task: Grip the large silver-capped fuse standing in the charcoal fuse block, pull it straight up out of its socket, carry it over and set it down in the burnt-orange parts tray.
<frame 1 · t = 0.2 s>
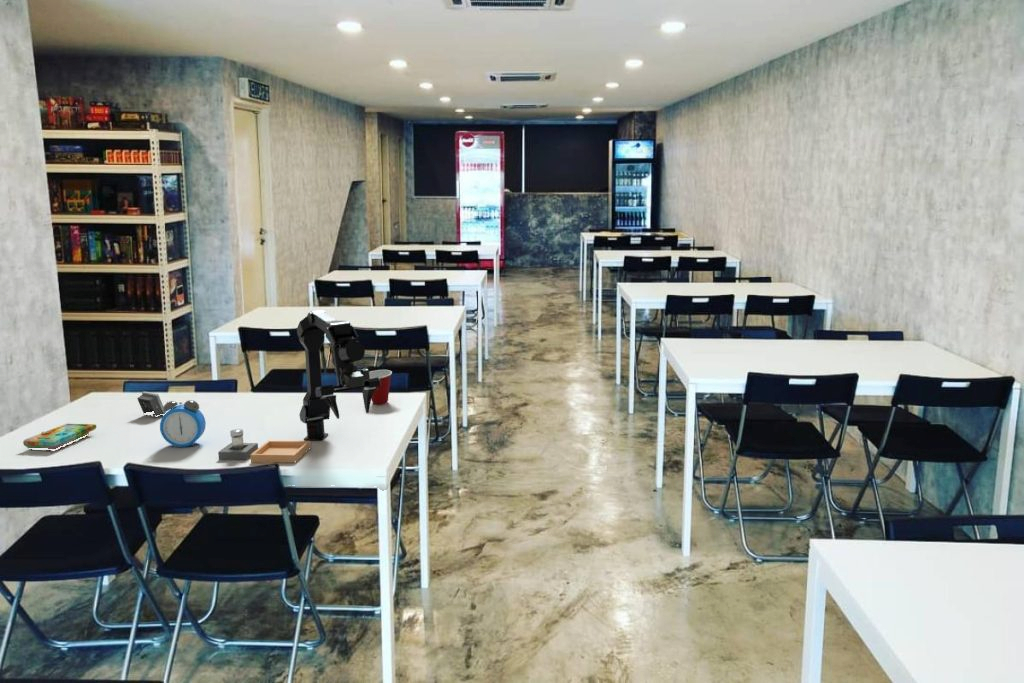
hand: (353, 415, 246), 15 cm above the table, tool pointing down, fingers open, 9 cm apart
fuse block: (238, 455, 262), on the table
alarm clock: (185, 445, 274), on the table
electrical switch: (153, 416, 311), on the table
fuse: (237, 443, 261), in the fuse block
puzzle game: (62, 443, 281), on the table
plastic cup: (379, 403, 319), on the table
parts tray: (281, 455, 260), on the table
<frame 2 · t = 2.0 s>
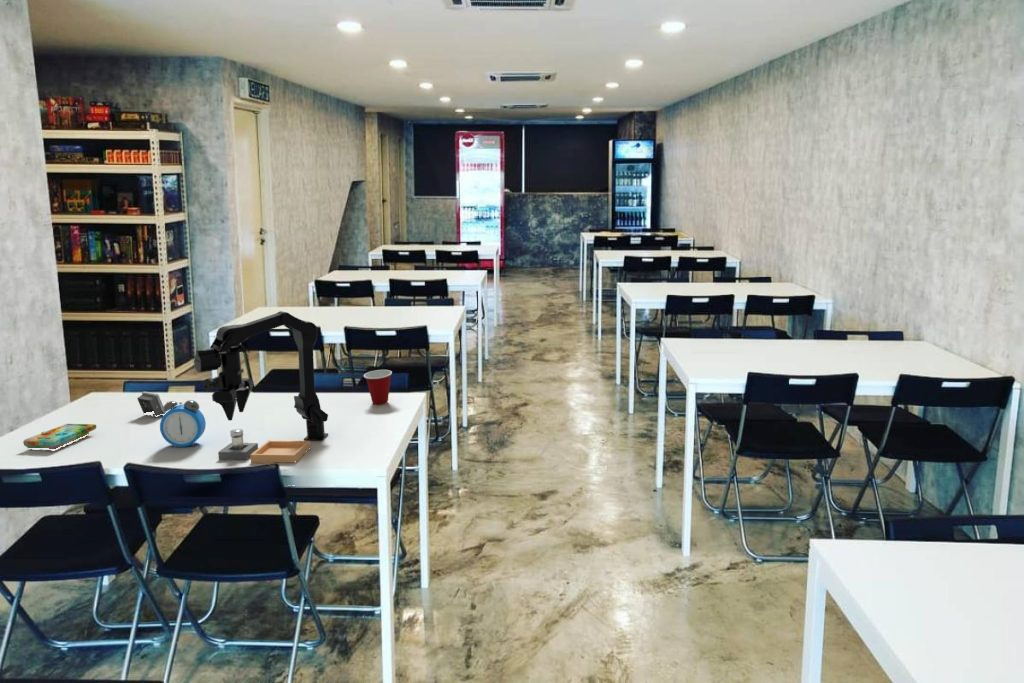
hand: (235, 416, 258), 13 cm above the table, tool pointing down, fingers open, 9 cm apart
nothing on the table moved.
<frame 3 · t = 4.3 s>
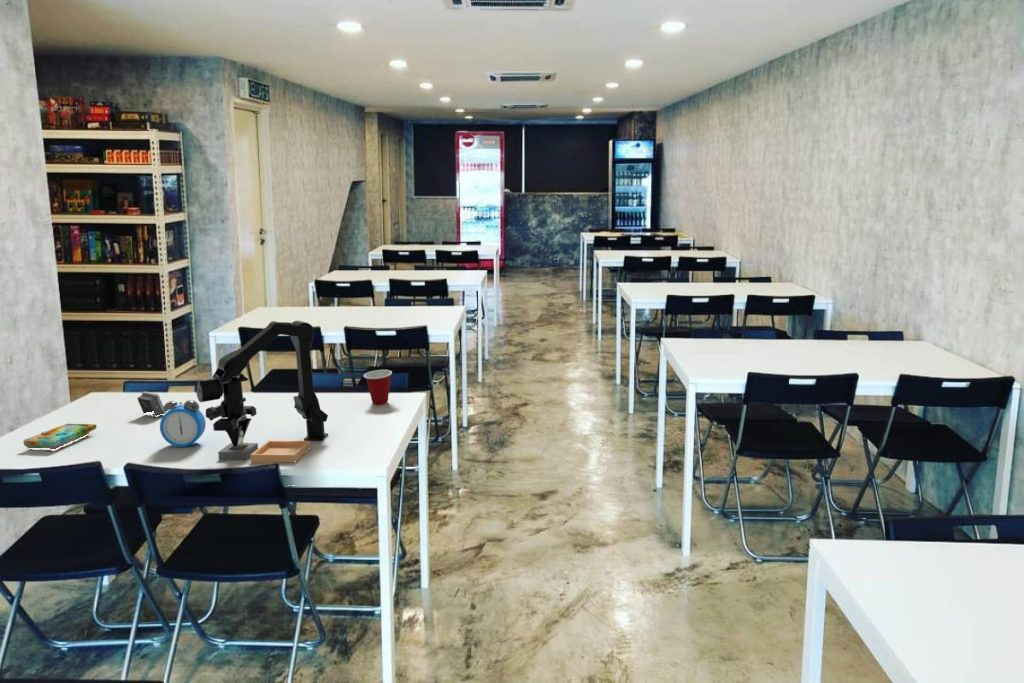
hand: (237, 444, 261), 4 cm above the table, tool pointing down, fingers closed on fuse, 3 cm apart
fuse: (237, 442, 261), in the fuse block, touching gripper
everything else where it was.
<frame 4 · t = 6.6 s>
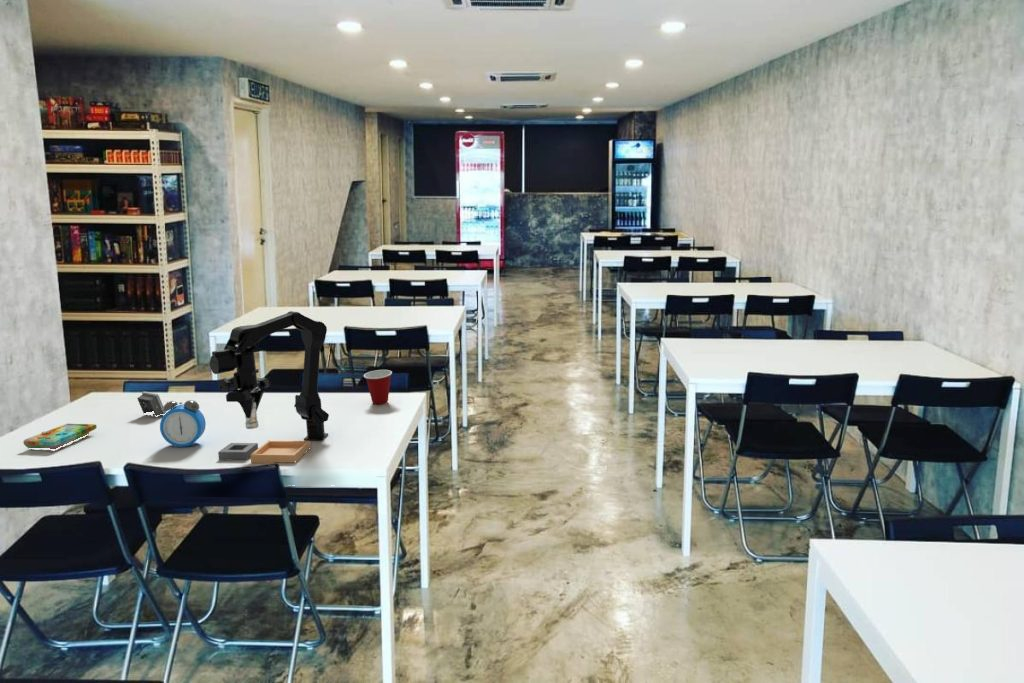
hand: (251, 416, 259), 13 cm above the table, tool pointing down, fingers closed on fuse, 3 cm apart
fuse: (250, 414, 259), point 13 cm above the table, touching gripper
everything else where it was.
when the fingers open (6 cm above the table, at t = 9.1 s): fuse drops 2 cm, resting on parts tray.
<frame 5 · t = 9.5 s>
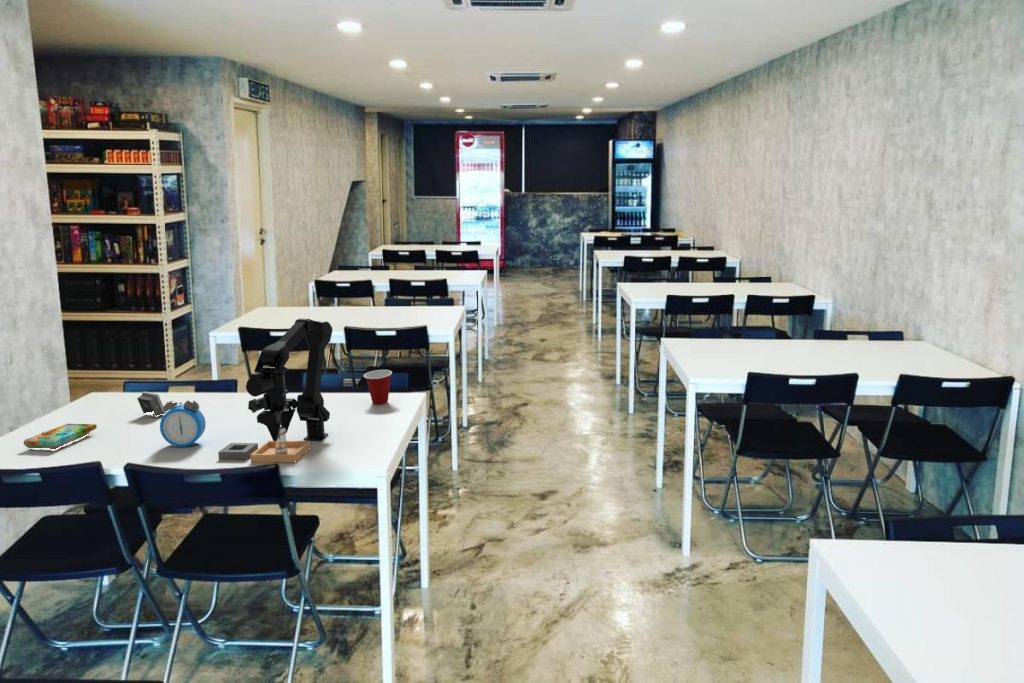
hand: (280, 436, 259), 6 cm above the table, tool pointing down, fingers open, 8 cm apart
fuse: (280, 440, 260), in the parts tray, point 5 cm above the table
everything else where it was.
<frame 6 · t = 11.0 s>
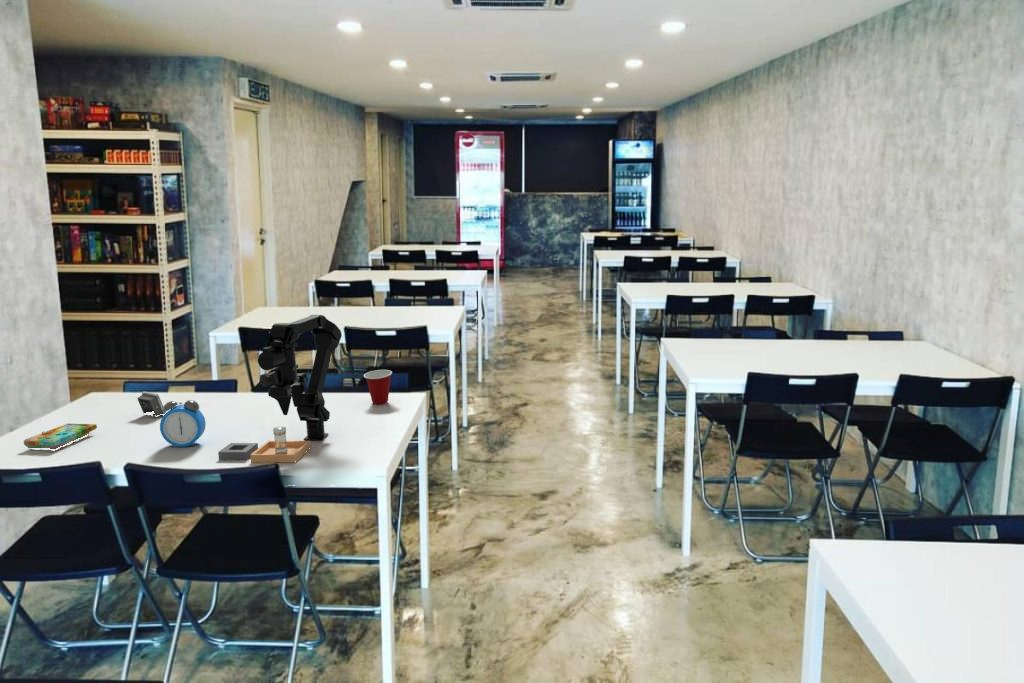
hand: (290, 410, 263), 13 cm above the table, tool pointing down, fingers open, 9 cm apart
nothing on the table moved.
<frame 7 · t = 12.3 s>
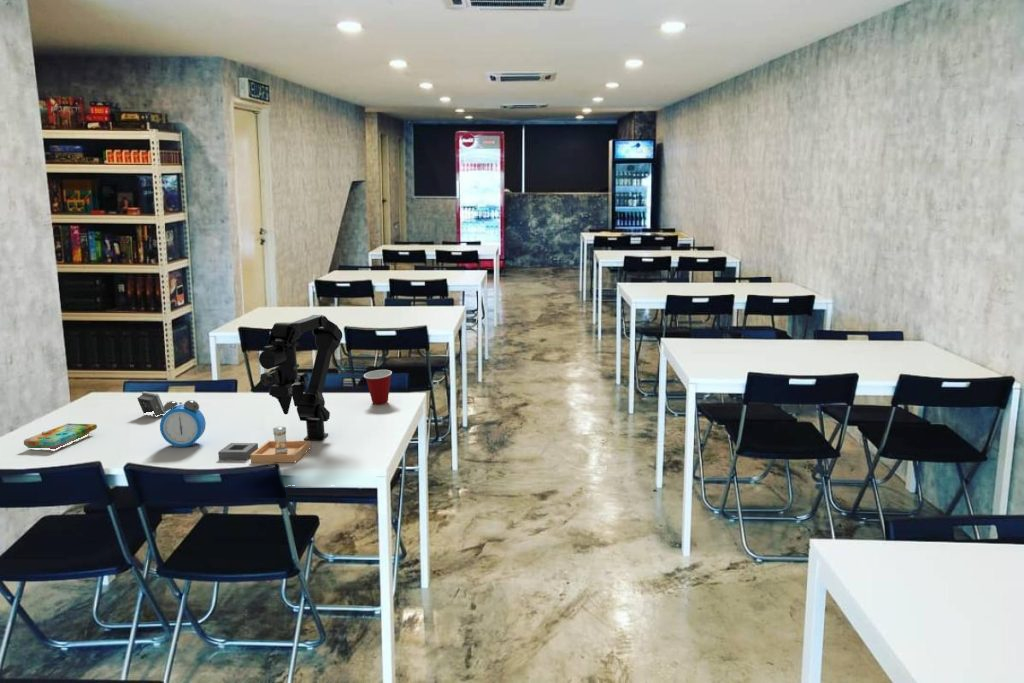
hand: (291, 410, 264), 13 cm above the table, tool pointing down, fingers open, 9 cm apart
nothing on the table moved.
at the end: fuse inside the target area on the parts tray (0.0 cm from its centre), point 4.8 cm above the parts tray's base; the gripper is holding nothing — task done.
